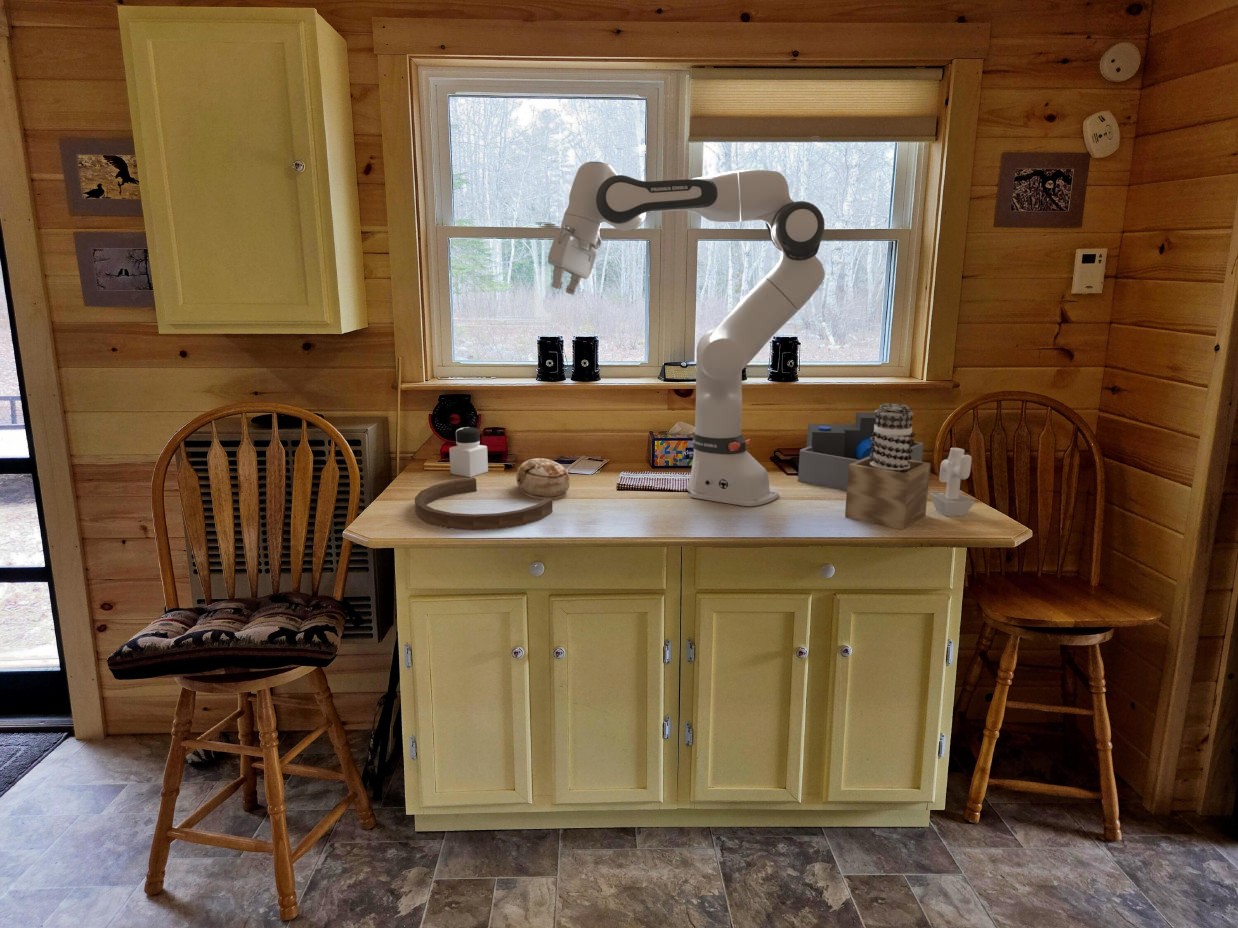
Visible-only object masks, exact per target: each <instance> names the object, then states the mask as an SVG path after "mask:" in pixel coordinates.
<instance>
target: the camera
mask: <svg viewBox="0 0 1238 928" xmlns="http://www.w3.org/2000/svg"><path fill="white" fill-rule="evenodd" d="M875 422H876V412H860V411H859V412H858V411H856V413H855V423H854V424H843V423H842V424H839V423H836V424H835V423H807V433H806V434H807V435H806V447H809V446H811V447H813V452H816V453H822V454H828V455H833V456H839V457H845V458H851V459H856V460H861V459H863V458H866V457H868V456H870V453H872V452H873V451H871V449H870V445H871V444H872V443H871V442H870V440H871V439H870V438H871V437H873V435H872V433H870V431H871V430H873V431H874V425H875ZM874 441H875V439H874ZM873 448H874V447H873Z"/></svg>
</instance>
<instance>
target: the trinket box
mask: <svg viewBox="0 0 1238 928" xmlns="http://www.w3.org/2000/svg"><path fill="white" fill-rule="evenodd" d="M515 475H516V476H515V477H516V478H515V479H516V484H517V486H518V487H519V488H520V490H521V492H522V493H523V494H524V495H526V496H528V497H530V498H533V499H538V500H545V499H552V500H557V499H561V498H564V497H565V496H566V495H567V494H566V493H567V491H568V490H569V488H570V485H571V479H570V475H569V472H568V471H567V470H566V467H564V466H563V465H562V464H560V463H558V462H556V461H554V460H552V459H550V458H549V459H548V458H540V457H539V458H538V457H537V458H536V457H535V458H531V459H528V460H526V461H524V462H522V463H521V464H520V466H519V467H518V468H517V471H516V474H515Z"/></svg>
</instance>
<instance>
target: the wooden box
mask: <svg viewBox="0 0 1238 928" xmlns="http://www.w3.org/2000/svg"><path fill="white" fill-rule="evenodd" d="M870 460H871V458H870V456H868V457H866V458H863V459H861V460H859V461H856V462H854V463H851V464H849V470H848V483H847V491H846V499H845V512H844V518H849V519H854V520H856V521H857V520H858V521H861V522H866V523H872V524H874V525H876V524H877V525H880V526H884V527H888V528H892V529H898V530H904V529H905V528H907V527H909V526H911V525H912V524H914V523H915V522H917V521H918V520H920V519H922V518H924V517H925V516H926V515H927V513H926V512H927V504H928V496H929V484H930V483H929V482H930V475H931V467H932V463H931V462H925V461H922V462H920V461H914V460H908V462H907V463H909V464H910V468H908V469H907V472H906V473H901V472H895V471H890V470H884V469H878V468H873V467H872V466H871V465H870Z"/></svg>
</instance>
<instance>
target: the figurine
mask: <svg viewBox="0 0 1238 928" xmlns="http://www.w3.org/2000/svg"><path fill="white" fill-rule="evenodd" d="M949 449H950V451H949V454H948V457H947V458H946V459H943V460H942V461H941V463H940V466H939V467H940V468H939V476H938V478H939V482H940V483H946V486H945V487H946V489H945V492H934V493H929V492H928V496H929V497H930V499H931V502H932V504H933V506H934V508H935V511H936V512H938V513H940V514H941V515H943V516H945V517H961V516H965V515H966V514H968V512H969V511H970V509H971V508H972V507H973V506H974V504H975V503H976V500H975V499H974V500H973V498H970V497H968V496H967V495H964V494H963V493H961V492H960V489H961V488H960V487H961V481H962V480H966V479H968V478H969V476H970V474H971V468H972V456H971V455H970V454H965V449H963V448H962V447H961V448H959V447H951V448H949Z"/></svg>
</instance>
